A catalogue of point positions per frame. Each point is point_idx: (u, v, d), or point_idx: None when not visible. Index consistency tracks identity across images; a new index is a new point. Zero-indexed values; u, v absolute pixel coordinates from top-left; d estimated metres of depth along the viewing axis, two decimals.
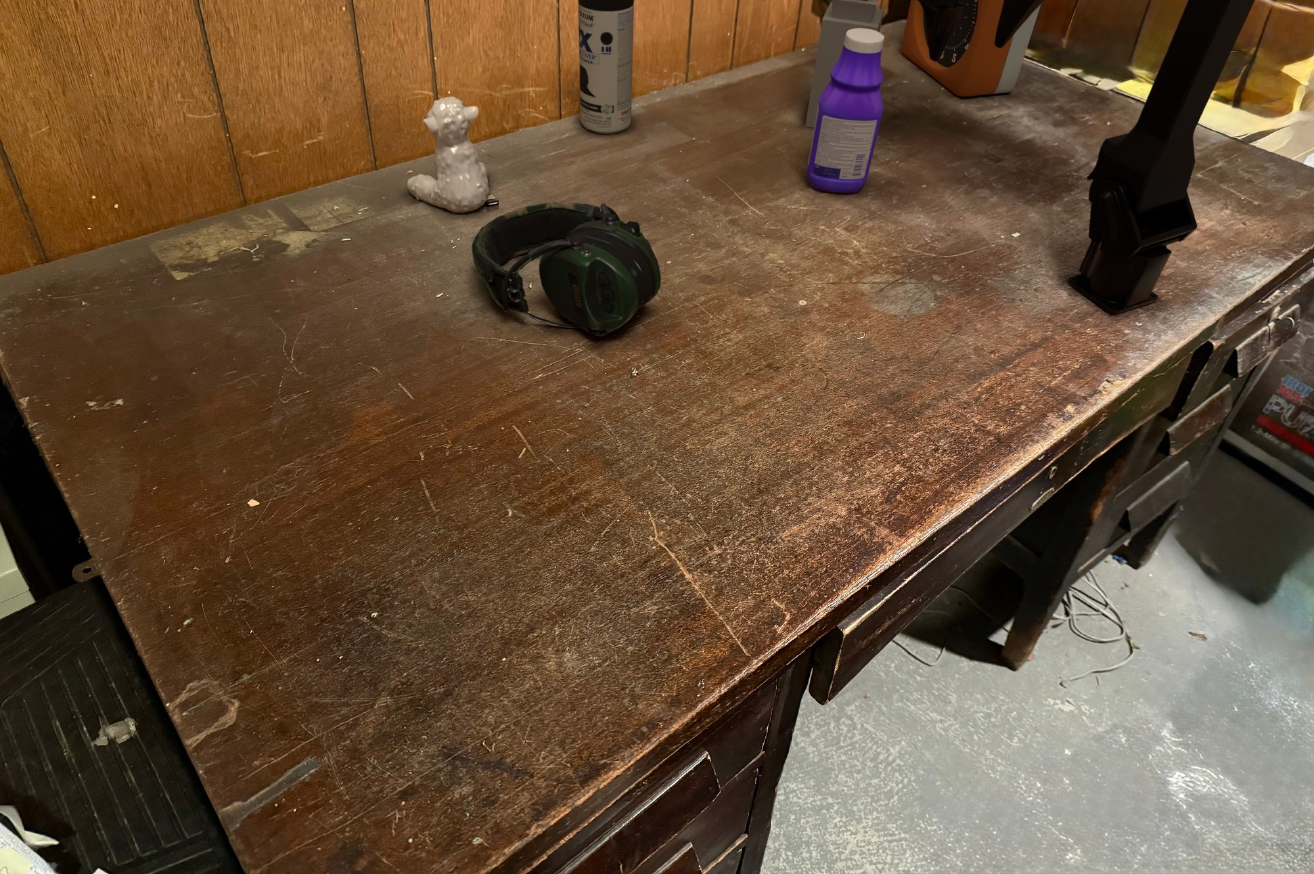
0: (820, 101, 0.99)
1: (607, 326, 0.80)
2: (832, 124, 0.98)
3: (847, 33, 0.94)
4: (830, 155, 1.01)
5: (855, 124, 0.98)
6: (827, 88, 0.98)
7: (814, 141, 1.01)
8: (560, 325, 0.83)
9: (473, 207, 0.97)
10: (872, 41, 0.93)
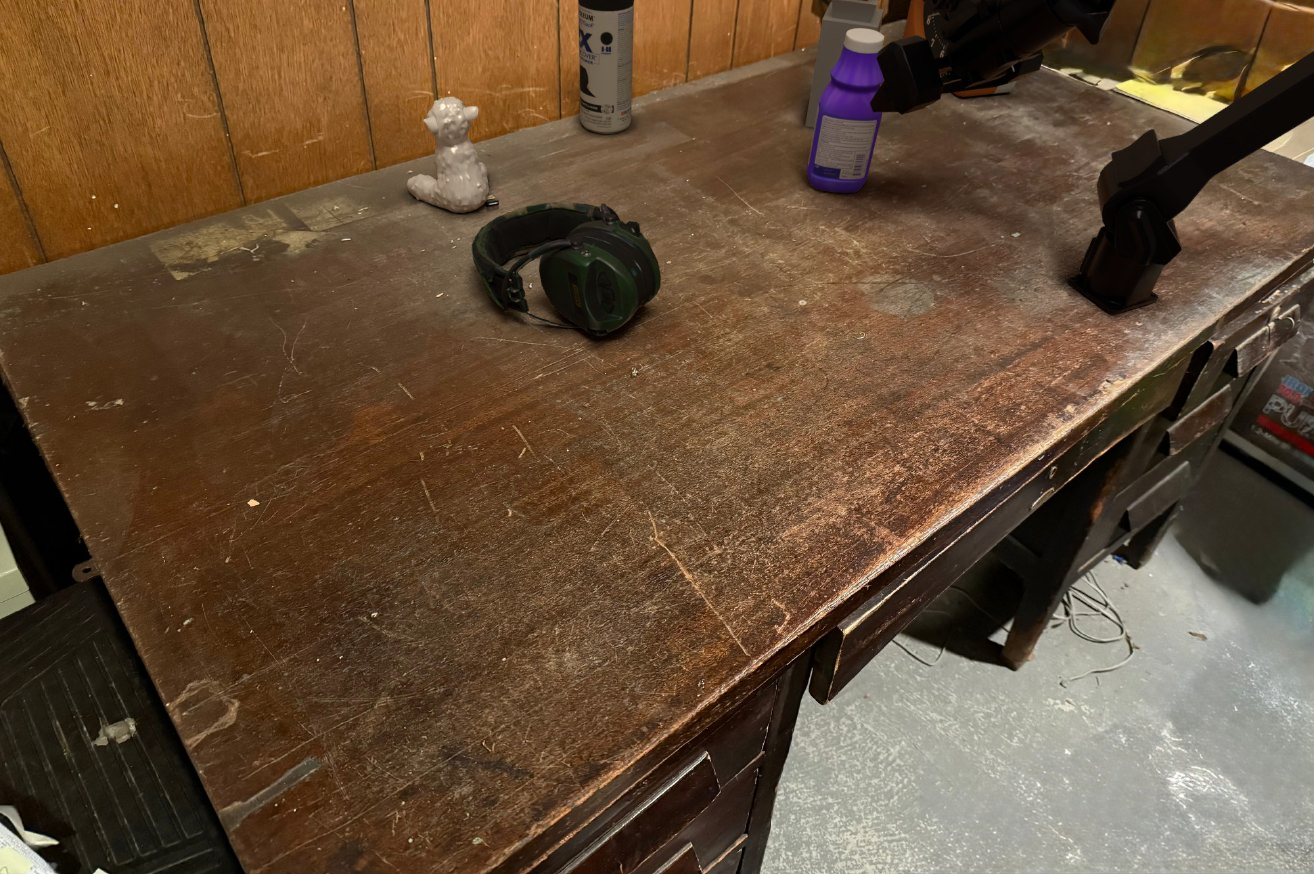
0: (820, 101, 0.99)
1: (607, 326, 0.80)
2: (832, 124, 0.98)
3: (847, 33, 0.94)
4: (830, 155, 1.01)
5: (855, 124, 0.98)
6: (827, 88, 0.98)
7: (814, 141, 1.01)
8: (560, 325, 0.83)
9: (473, 207, 0.97)
10: (872, 41, 0.93)
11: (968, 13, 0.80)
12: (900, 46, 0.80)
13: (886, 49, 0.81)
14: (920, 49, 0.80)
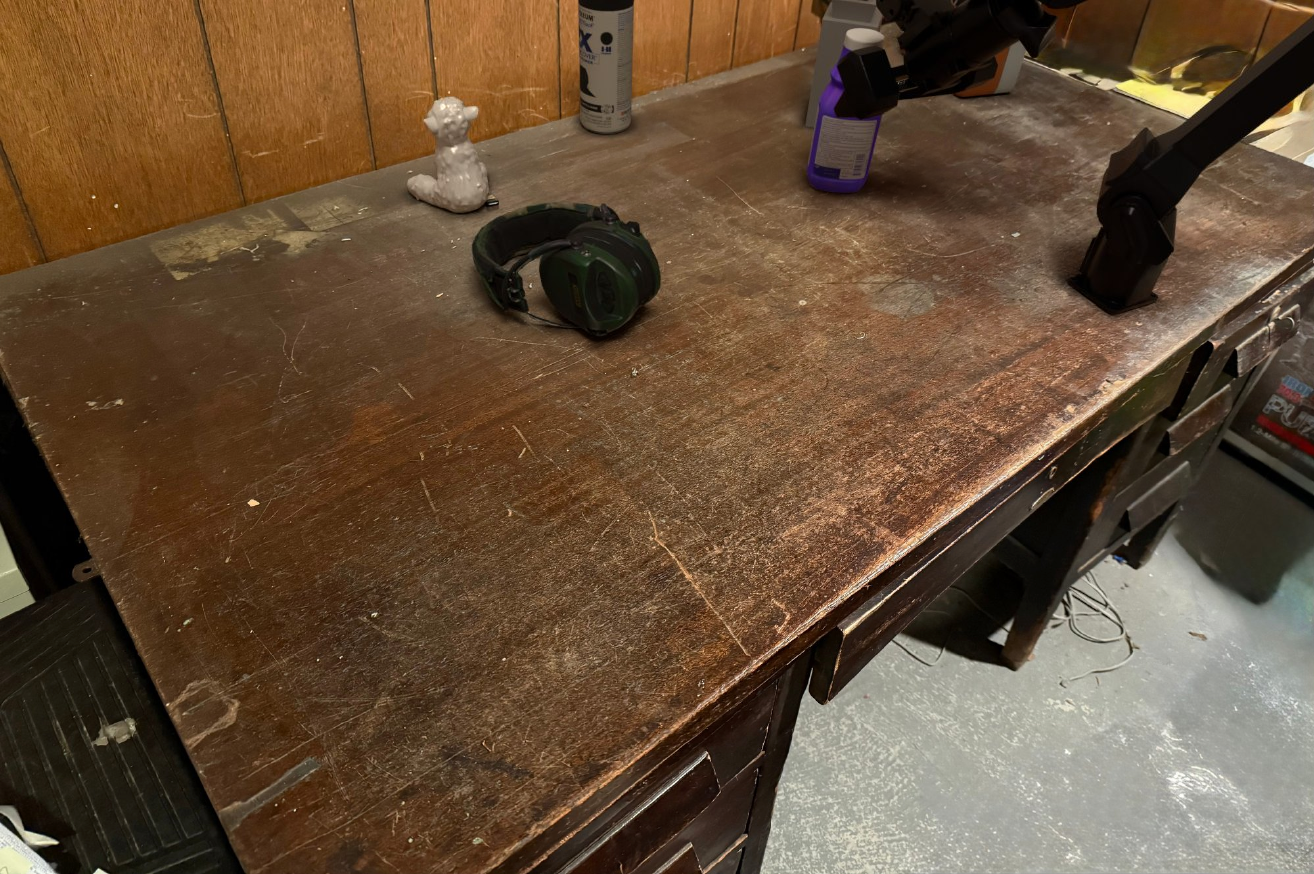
0: (820, 101, 0.99)
1: (607, 326, 0.80)
2: (832, 124, 0.98)
3: (847, 33, 0.94)
4: (830, 155, 1.01)
5: (855, 124, 0.98)
6: (827, 88, 0.98)
7: (814, 141, 1.01)
8: (560, 325, 0.83)
9: (473, 207, 0.97)
10: (872, 41, 0.93)
11: (923, 24, 0.84)
12: (858, 55, 0.84)
13: (845, 58, 0.85)
14: (877, 58, 0.85)
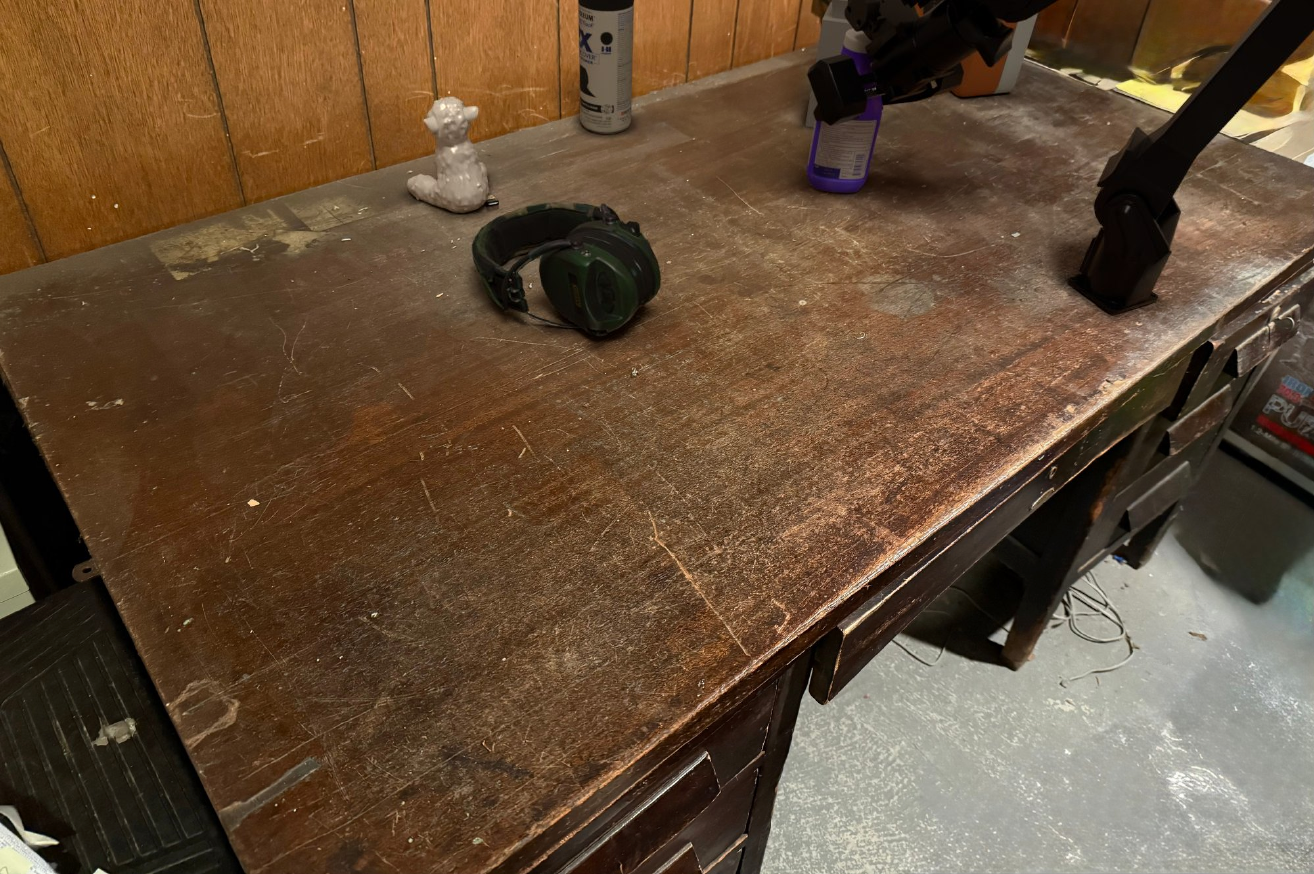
0: None
1: (607, 326, 0.80)
2: None
3: (847, 33, 0.94)
4: (830, 155, 1.01)
5: (855, 124, 0.98)
6: None
7: (814, 141, 1.01)
8: (560, 325, 0.83)
9: (473, 207, 0.97)
10: None
11: (888, 34, 0.88)
12: (827, 64, 0.88)
13: (815, 67, 0.89)
14: (846, 67, 0.89)
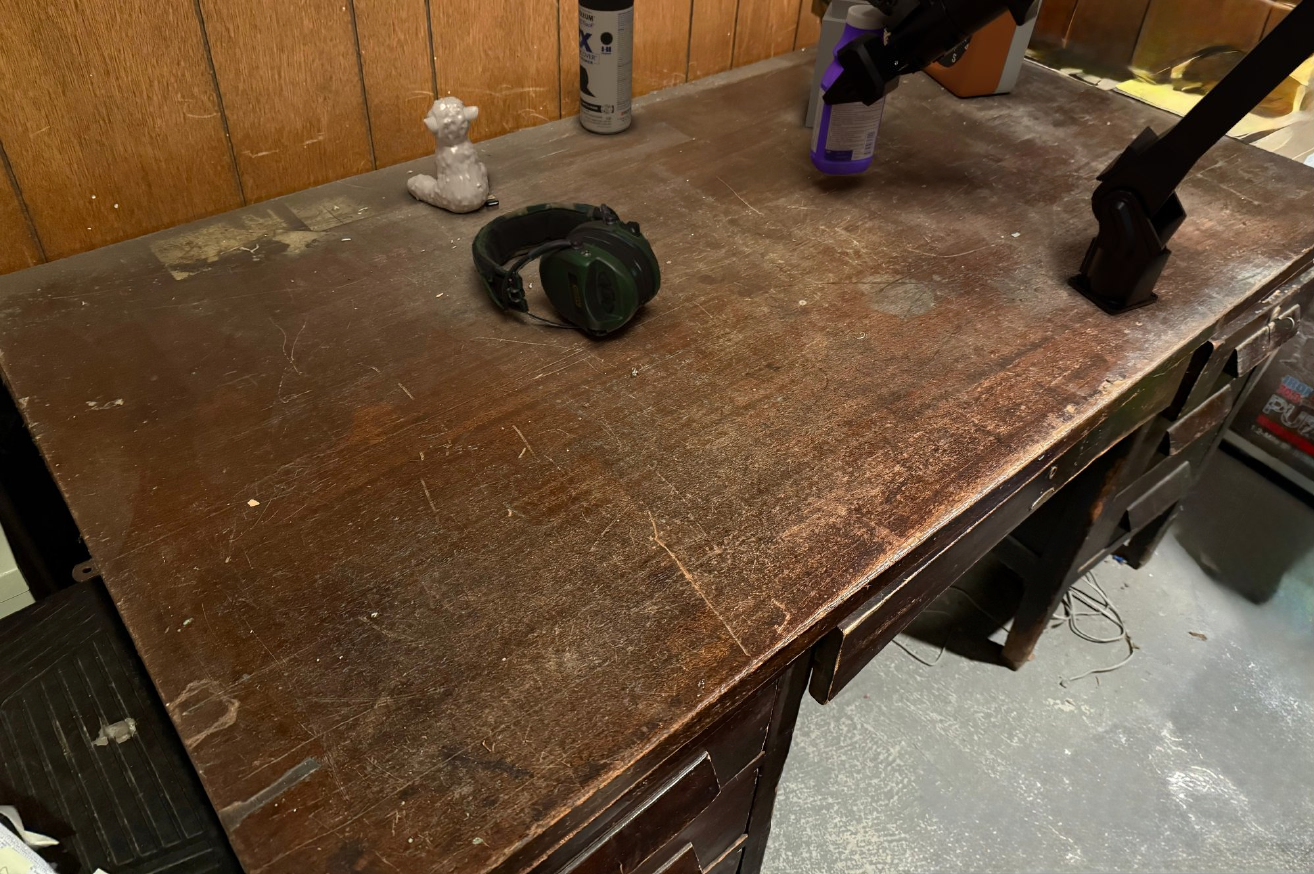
0: (826, 85, 0.96)
1: (607, 326, 0.80)
2: (844, 106, 0.96)
3: (851, 11, 0.92)
4: (842, 138, 0.98)
5: None
6: (832, 70, 0.95)
7: (823, 126, 0.98)
8: (560, 325, 0.83)
9: (473, 207, 0.97)
10: (880, 16, 0.91)
11: (910, 6, 0.86)
12: (861, 44, 0.85)
13: (847, 48, 0.86)
14: (876, 44, 0.86)
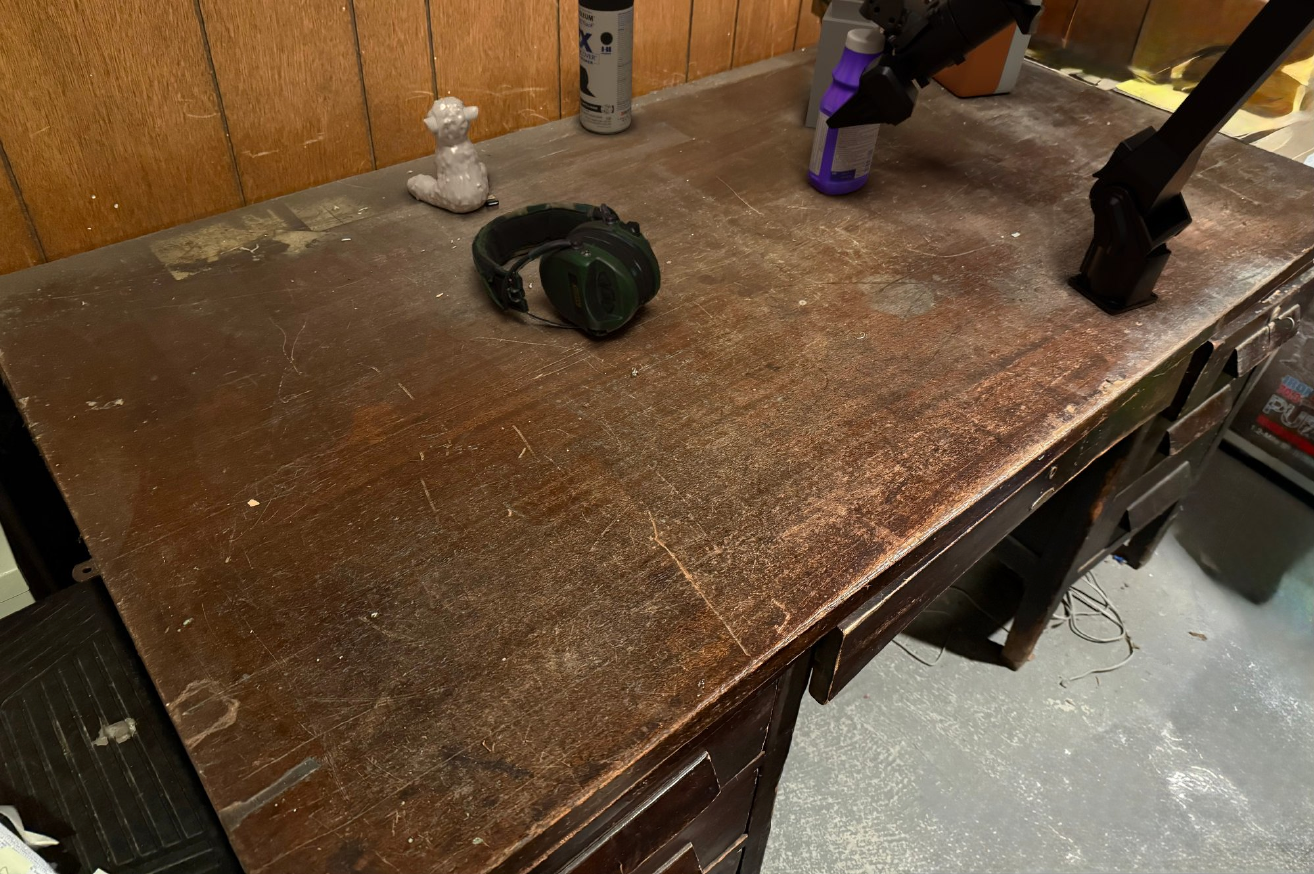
0: (831, 110, 0.97)
1: (607, 326, 0.80)
2: (850, 129, 0.98)
3: (852, 37, 0.93)
4: (847, 159, 1.00)
5: None
6: (835, 95, 0.97)
7: (828, 149, 1.00)
8: (560, 325, 0.83)
9: (473, 207, 0.97)
10: (882, 40, 0.93)
11: (919, 25, 0.89)
12: (888, 68, 0.87)
13: (874, 73, 0.87)
14: (897, 66, 0.88)
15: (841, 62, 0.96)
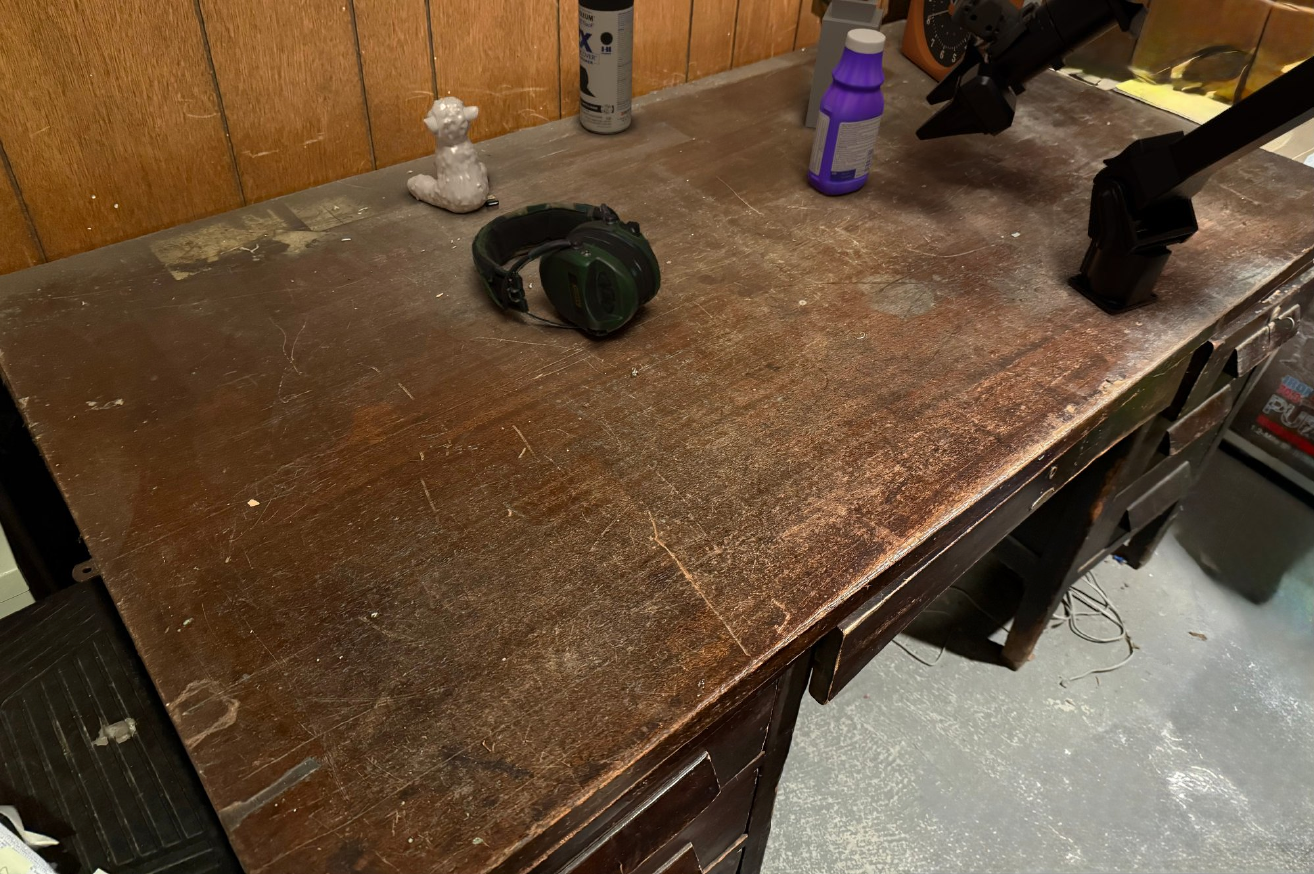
0: (831, 110, 0.97)
1: (607, 326, 0.80)
2: (850, 129, 0.98)
3: (852, 37, 0.93)
4: (847, 159, 1.00)
5: (869, 122, 0.98)
6: (835, 95, 0.97)
7: (828, 149, 1.00)
8: (560, 325, 0.83)
9: (473, 207, 0.97)
10: (882, 40, 0.93)
11: (1017, 31, 0.86)
12: (988, 77, 0.84)
13: (974, 83, 0.85)
14: (996, 74, 0.86)
15: (841, 62, 0.96)
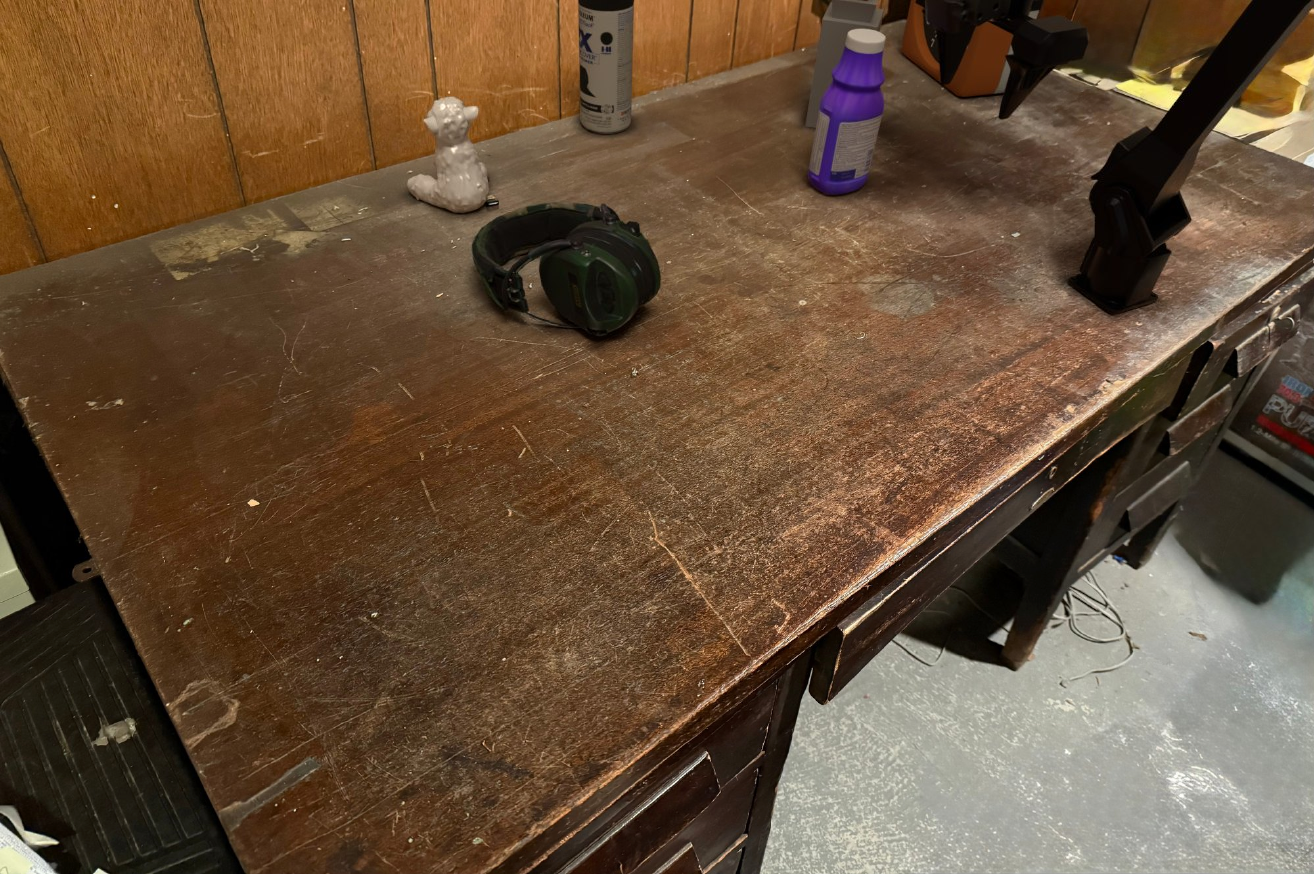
0: (831, 110, 0.97)
1: (607, 326, 0.80)
2: (850, 129, 0.98)
3: (852, 37, 0.93)
4: (847, 159, 1.00)
5: (869, 122, 0.98)
6: (835, 95, 0.97)
7: (828, 149, 1.00)
8: (560, 325, 0.83)
9: (473, 207, 0.97)
10: (882, 40, 0.93)
11: None
12: (1049, 35, 0.80)
13: (1044, 51, 0.80)
14: (1039, 24, 0.81)
15: (841, 62, 0.96)
